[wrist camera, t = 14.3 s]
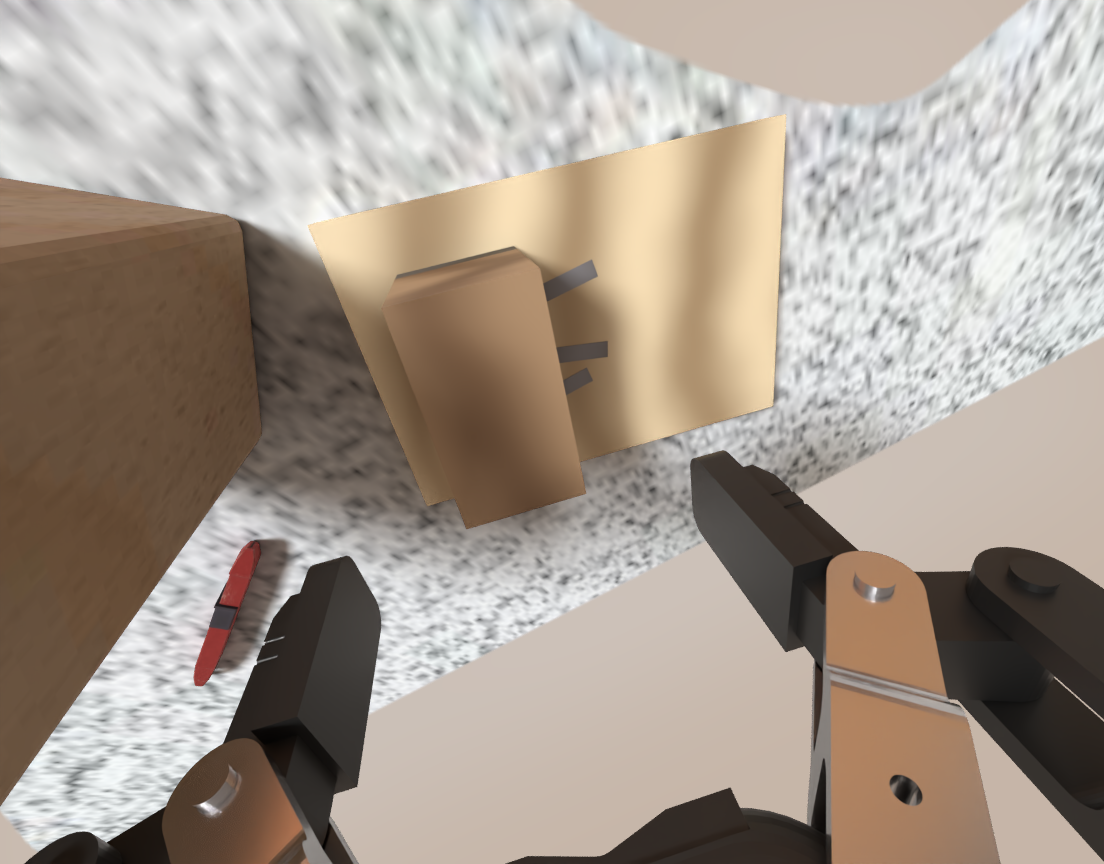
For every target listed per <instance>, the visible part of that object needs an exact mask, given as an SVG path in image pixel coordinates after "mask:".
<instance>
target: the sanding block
mask: <svg viewBox="0 0 1104 864" xmlns="http://www.w3.org/2000/svg"><path fill="white" fill-rule="evenodd" d="M381 309H382V312H383V314H384V317H385V320H386V322H387V325H388V327H389V330H390V332H391V335H392V338H393V340H394V343H395V345H396V348H397V351H398V353H399V356H400V358H401V361H402V364H403V366H404V369H405V371H406V374H407V376H408V379H409V382H410V384H411V387H412V389H413V392H414V395H415V397H416V400H417V402H418V405H419V408H420V410H421V413H422V415H423V418H424V420H425V423H426V426H427V428H428V431H429V433H430V436H431V439H432V441H433V444H434V446H435V449H436V451H437V454H438V457H439V459H440V462H441V464H442V467H443V470H444V472H445V475H446V477H447V480H448V483H449V485H450V488H451V490H452V493H453V495H454V498H455V501H456V503H457V506H458V508H459V511H460V514H461V516H462V519H463V521H464V524H465V527H466V529H469V528H472V527H476V526H479V525H483V524H486V523H489V522H493V521H496V520H499V519H503V518H506V517H509V516H513V515H516V514H520V513H523V512H526V511H530V510H533V509H536V508H540V507H543V506H546V505H550V504H553V503H556V502H560V501H563V500H567V499H570V498H573V497H577V496H580V495H583V494H586V490H585V485H584V480H583V475H582V471H581V466H580V461H579V456H578V451H577V446H576V441H575V437H574V432H573V427H572V422H571V417H570V412H569V407H568V402H567V398H566V393H565V388H564V383H563V378H562V373H561V368H560V363H559V359H558V354H557V349H556V344H555V339H554V334H553V329H552V325H551V320H550V315H549V310H548V305H547V300H546V295H545V290H544V286H543V281H542V276H541V271H540V268H539V267H538V266H537V265H536V264H534V263H533V262H532V261H531V260H530V259H529V258H527V257H526V256H525V255H524V254H523V253H521V252H520V251H519V250H518V249H517V248H516V247H514V246H512V247H507V248H503V249H499V250H495V251H491V252H487V253H483V254H479V255H475V256H471V257H467V258H463V259H459V260H455V261H451V262H447V263H443V264H439V265H435V266H431V267H427V268H423V269H419V270H414V271H410V272H406V273H402V274H398V275H397V276H396V278H395V280H394V282H393V284H392V286H391V289H390V291H389V293H388V295H387V297H386V299H385V301H384V303H383V305H382V308H381Z"/></svg>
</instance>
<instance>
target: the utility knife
mask: <svg viewBox="0 0 1104 864" xmlns="http://www.w3.org/2000/svg"><path fill="white" fill-rule="evenodd" d="M260 555H261V550H260V546H259V543H258V542H255V541H250V542H249V543H248V544H247V545H246V546H244V547H243V548H242V549H241V551H240V553H239V555H238V557H237V559H236V561H235V563H234V564H233V566H232V568H231V570H230V572H229V574H230V576H229V579H228V581H227V583H226V585H225V587H224V588H223V590H222V592H221V594H220V596H219V598H218V600H217V602H216V604H215V606H214V608H215V611H214V614H213V617H212V620H211V623H210V626H209V630H208V632H207V635H206V638H205V641H204V643H203V646H202V649H201V652H200V654H199V657H198V660H197V663H196V665H195V671H194V683H195V685H196V686H203V685H204V684H205V683H206V682H207V681H208V680H209V678H210V677H211V675H212V673H213V671H214V670H215V668H216V666H217V664H218V662H219V659H220V657H221V655H222V653H223V651H224V648H225V646H226V643H227V641H228V638H229V635H230V633H231V630H232V628H233V625H234V623H235V620H236V617H237V615H238V612H239V610H240V607H241V604H242V602H243V599H244V597H245V594H246V592H247V589H248V586H249V584H250V581H251V579H252V576H253V573H254V571H255V568H256V566H257V563H258V560H259V558H260Z"/></svg>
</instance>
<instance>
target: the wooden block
mask: <svg viewBox="0 0 1104 864" xmlns="http://www.w3.org/2000/svg"><path fill="white" fill-rule="evenodd" d="M261 434H262V429H261V418H260V408H259V398H258V388H257V377H256V367H255V357H254V347H253V336H252V326H251V316H250V306H249V295H248V285H247V275H246V265H245V254H244V244H243V234H242V230H241V228H240V225H239V223H238V221H237V220H235V219H233V218H231V217H229V216H227V215H224V214H218V213H212V212H206V211H200V210H194V209H188V208H182V207H175V206H169V205H163V204H157V203H151V202H145V201H139V200H133V199H127V198H121V197H115V196H109V195H103V194H97V193H90V192H84V191H78V190H72V189H66V188H60V187H54V186H48V185H42V184H36V183H30V182H24V181H18V180H11V179H5V178H0V806H1V805H2V803H3V802H4V800H5V799H6V798H7V796H8V795H9V793H10V792H11V790H12V789H13V788H14V786H15V785H16V783H17V782H18V781H19V779H20V778H21V776H22V775H23V773H24V772H25V771H26V769H27V768H28V766H29V765H30V764H31V762H32V761H33V759H34V758H35V756H36V755H37V754H38V752H39V751H40V749H41V748H42V747H43V745H44V744H45V742H46V741H47V739H48V738H49V737H50V735H51V734H52V732H53V731H54V730H55V728H56V727H57V725H58V724H59V722H60V721H61V720H62V718H63V717H64V715H65V714H66V713H67V711H68V710H69V708H70V707H71V705H72V704H73V703H74V701H75V700H76V698H77V697H78V696H79V694H80V693H81V691H82V690H83V688H84V687H85V686H86V684H87V683H88V681H89V680H90V679H91V677H92V676H93V674H94V673H95V671H96V670H97V669H98V667H99V666H100V664H101V663H102V662H103V660H104V659H105V657H106V656H107V654H108V653H109V652H110V650H111V649H112V647H113V646H114V645H115V643H116V642H117V640H118V639H119V637H120V636H121V635H122V633H123V632H124V630H125V629H126V628H127V626H128V625H129V623H130V622H131V620H132V619H133V618H134V616H135V615H136V613H137V612H138V611H139V609H140V608H141V606H142V605H143V603H144V602H145V601H146V599H147V598H148V596H149V595H150V594H151V592H152V591H153V589H154V588H155V586H156V585H157V584H158V582H159V581H160V579H161V578H162V577H163V575H164V574H165V572H166V571H167V569H168V568H169V567H170V565H171V564H172V562H173V561H174V560H175V558H176V557H177V555H178V554H179V552H180V551H181V550H182V548H183V547H184V545H185V544H186V543H187V541H188V540H189V538H190V537H191V535H192V534H193V533H194V531H195V530H196V528H197V527H198V526H199V524H200V523H201V521H202V520H203V518H204V517H205V516H206V514H207V513H208V511H209V510H210V509H211V507H212V506H213V504H214V503H215V501H216V500H217V499H218V497H219V496H220V494H221V493H222V492H223V490H224V489H225V487H226V486H227V484H228V483H229V482H230V480H231V479H232V477H233V476H234V475H235V473H236V472H237V470H238V469H239V467H240V466H241V465H242V463H243V462H244V460H245V459H246V458H247V456H248V455H249V453H250V452H251V450H252V449H253V448H254V446H255V445H256V443H257V442H258V441H259V439H260V437H261Z"/></svg>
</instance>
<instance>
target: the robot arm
mask: <svg viewBox="0 0 1104 864" xmlns="http://www.w3.org/2000/svg"><path fill="white" fill-rule="evenodd" d="M690 470H691V487H692V505H693V514H694V518H695V521H696V524H697V526H698V529H699V531H700V532H701V534H702V536H703V537H704V538H705V540H706V541H707V543H708V544H709V545H710V547H711V548H712V550H713V551H714V552H715V554H716V555H717V557H718V558H719V559H720V561H721V562H722V564H723V565H724V566H725V568H726V569H727V570H728V572H729V573H730V575H731V576H732V578H733V579H734V580H735V582H736V583H737V585H738V586H739V587H740V589H741V590H742V592H743V593H744V594H745V596H746V597H747V599H748V600H749V601H750V603H751V604H752V606H753V607H754V608H755V610H756V611H757V613H758V614H759V615H760V617H761V618H762V619H763V621H764V622H765V624H766V625H767V627H768V628H769V629H770V631H771V632H772V634H773V635H774V636H775V638H776V639H777V640H778V642H779V643H780V645H781V646H782V648H783V649H784V650H785V652H788V651H790V650H794V649H797V648H800V647H803V646H805V647H806V649H807V650H808V651H809V652H810V654H811V655H812V656H813V658H814V665H813V694H812V695H813V696H812V735H811V736H812V738H811V766H810V780H809V793H808V809H807V824H804V823H802V822H800V821H797V820H795V819H793V818H790V817H788V816H784V815H781V814H777V813H774V812H771V811H765V810H758V809H752V808H740V807H739V805H738V803H737V801H736V799H735V797H734V794H733V793H732V790H731V788H728V789H725V790H722V791H719V792H716V793H713V794H710V795H707V796H704V797H701V798H698V799H695V800H692V801H689V802H686V803H683V804H681V805H678V806H675V807H672V808H669V809H666V810H664V811H663V812H662V813H661V814H659V815H658V816H657V817H655V818H654V819H653V820H651V821H650V822H649V823H647V824H646V825H645V826H643V827H642V828H641V829H639V830H638V831H637V832H635V833H634V834H633V835H631V836H630V837H629V838H627V839H626V840H625V841H623V842H622V843H621V844H619V845H618V846H617V847H615V848H614V849H613V850H612V851H610V852H609V853H607V854H605V855H602V856H597V857H561V856H557V857H556V856H527V857H524V858H521V859H518V860H515V861H512V862H509V863H507V864H1001V863H1000V859H999V854H998V850H997V846H996V841H995V837H994V832H993V828H992V824H991V819H990V814H989V810H988V805H987V801H986V797H985V792H984V788H983V784H982V779H981V775H980V770H979V766H978V761H977V757H976V753H975V748H974V743H973V739H972V735H971V730H970V726H969V723H968V720H967V717H966V715H965V713H964V711H963V709H962V708H961V707H960V706H959V705H957V704H954V703H950V702H949V700H948V699H955V700H958V701H959V702H960V703H961V704H962V705H963V706H964V707H965V709H966V710H967V711H968V712H969V713H970V714H971V715H972V716H973V717H974V719H975V720H976V721H977V722H978V723H979V724H980V725H981V726H982V727H983V729H984V730H985V731H986V732H987V733H988V734H989V735H990V736H991V737H992V738H993V740H994V741H995V742H996V743H997V744H998V745H999V746H1000V747H1001V748H1002V749H1003V751H1004V752H1005V753H1006V754H1007V755H1008V756H1009V757H1010V758H1011V759H1012V761H1013V762H1014V763H1015V764H1016V765H1017V766H1018V767H1019V768H1020V769H1021V770H1022V772H1023V773H1024V774H1025V775H1026V776H1027V777H1028V778H1029V779H1030V780H1031V781H1032V783H1033V784H1034V785H1035V786H1036V787H1037V788H1038V789H1039V790H1040V791H1041V793H1042V794H1043V795H1044V796H1045V797H1046V798H1047V799H1048V800H1049V801H1050V803H1052V805H1053V806H1054V807H1055V808H1056V809H1057V810H1058V811H1059V812H1060V814H1061V815H1062V816H1063V817H1064V818H1065V819H1066V820H1067V821H1068V822H1069V823H1070V825H1071V826H1072V827H1073V828H1074V829H1075V830H1076V831H1077V832H1078V833H1079V835H1080V836H1082V838H1083V839H1084V840H1085V841H1086V842H1087V843H1088V844H1089V846H1090V847H1091V848H1092V849H1093V850H1094V851H1095V852H1096V853H1097V854H1098V856H1099V857H1100V858H1101V859H1102V860H1103V861H1104V722H1103V721H1102V720H1101V719H1100V718H1099V717H1098V716H1097V715H1096V714H1094V713H1093V712H1092V711H1091V710H1090V709H1089V708H1088V707H1086V706H1085V705H1084V704H1083V703H1082V702H1081V701H1080V700H1079V699H1077V698H1076V697H1075V696H1074V695H1073V694H1072V693H1071V692H1069V691H1068V690H1067V689H1066V688H1065V687H1064V686H1062V685H1061V684H1060V683H1059V682H1058V681H1057V680H1056V679H1055V678H1054V676H1055V677H1056V678H1058V680H1060V681H1061V682H1062V683H1063V684H1064V685H1065V686H1066V687H1068V688H1069V689H1070V690H1071V691H1072V692H1073V693H1074V694H1076V695H1077V696H1078V697H1079V698H1080V699H1081V700H1082V701H1084V702H1085V703H1086V704H1087V705H1088V706H1089V707H1091V708H1092V709H1093V710H1094V711H1095V712H1096V713H1097V714H1098V715H1100V716H1101V717H1102V718H1103V719H1104V589H1103V588H1102V587H1100V586H1099V585H1097V584H1096V583H1094V582H1093V581H1091V580H1090V579H1088V578H1087V577H1085V576H1084V575H1082V574H1080V573H1079V572H1078V571H1076V570H1075V569H1073V568H1071V567H1070V566H1068V565H1066V564H1065V563H1063V562H1061V561H1059V560H1057V559H1055V558H1052V557H1049V556H1047V555H1044V554H1041V553H1038V552H1035V551H1030V550H1026V549H1021V548H1012V547H998V548H991V549H988V550H985V551H983V552H981V553H980V554H978V556H977V557H976V558H975V560H974V563H973V566H972V569H971V571H963V572H961V571H958V572H913V571H912V570H911V569H910V568H909V567H907V566H906V565H904V564H903V563H901V562H899V561H897V560H895V559H893V558H891V557H888V556H885V555H882V554H879V553H874V552H868V551H858V550H857V549H856V548H855V547H854V546H853V545H852V544H851V543H849V541H847V540H846V539H845V538H844V537H843V536H842V535H841V534H840V533H839V532H837V531H836V530H835V529H834V528H833V527H832V526H831V525H830V524H829V523H827V522H826V521H825V520H824V519H823V518H822V517H821V516H820V515H818V513H816V512H815V511H814V510H813V509H812V508H811V507H810V506H809V505H807V504H804V502H803V500H802V499H801V498H800V497H798V495H796V494H795V493H794V492H791V491H790V488H789V487H788V486H786V485H785V484H784V483H783V482H782V481H781V480H780V479H779V478H778V477H777V476H775V475H774V474H772V473H770V472H768V471H765V470H763V469H761V468H759V467H756V466H754V465H750V466H746V467H742V466H741V465H740V464H739V463H738V462H737V461H736V460H735V459H734V458H733V457H732V456H731V455H730V454H729V453H728V452H726V451H719V452H715V453H712V454H708V455H704V456H701V457H697V458H694V459H692V460H691V464H690ZM380 632H381V616H380V610H379V607H378V604H377V601H376V599H375V598H374V596H373V594H372V592H371V591H370V589H369V587H368V585H367V584H366V582H365V580H364V578H363V577H362V575H361V573H360V571H359V570H358V568H357V566H356V564H355V563H354V561H353V560H352V558H350V557H349V556H344V557H340V558H337V559H333V560H330V561H326V562H323V563H319V564H316V565H313V566H311V567H310V568H309V570H308V572H307V575H306V578H305V581H304V583H303V586H302V589H301V592H300V593H299V594H296V595H292V596H290V598H289V599H288V600H287V602H286V603H285V604H284V605H283V607H282V608H281V609H280V610H279V612H278V613H277V614H276V616H275V617H274V618H273V620H272V623H271V625H270V628H269V630H268V633H267V635H266V638H265V640H264V642H265V645H264V646H262V648H261V650H260V653H259V655H258V658H257V660H256V661H257V665H255V666H254V668H253V670H252V673H251V675H250V678H249V680H248V683H247V685H246V688H245V690H244V693H243V695H242V698H241V700H240V703H239V705H238V708H237V710H236V713H235V715H234V718H233V720H232V723H231V725H230V728H229V730H228V733H227V735H226V738H225V740H224V743H223V744H222V745H220V746H218V747H217V748H215V749H214V750H212V751H211V752H209V753H208V754H207V755H205V756H204V757H203V758H202V759H200V760H199V761H198V762H197V763H196V764H195V765H194V766H193V767H192V768H191V769H190V770H189V771H188V772H187V773H186V775H185V776H184V777H183V778H182V780H181V781H180V782H179V784H178V785H177V787H176V788H175V790H174V791H173V793H172V795H171V797H170V799H169V801H168V803H167V806H166V807H164V808H162V809H161V810H159V811H158V812H156V813H154V814H153V815H151V816H149V817H148V818H146V819H144V820H143V821H141V822H140V823H138V824H136V825H135V826H133V827H131V828H130V829H128V830H126V831H125V832H123V833H122V834H120V835H118V836H117V837H115V838H113V839H112V840H110V841H108V842H107V843H106V842H105V841H103V840H101V839H100V838H98V837H97V836H95V835H93V834H92V833H90V832H76V833H72V834H69V835H67V836H64V837H62V838H60V839H58V840H56V841H54V842H53V843H51V844H49V845H48V846H46V847H45V848H43V849H42V850H41V851H39V852H38V853H37V854H35V855H34V856H33V857H32V858H30V859H29V860H28V861H27V862H26V863H25V864H359V863H358V862H357V860H356V858H355V856H354V855H353V853H352V851H351V849H350V848H349V846H348V844H347V842H346V841H345V839H344V837H343V836H342V834H341V832H340V831H339V829H338V827H337V825H336V824H335V822H334V821H333V819H332V818H331V817H330V812H331V807H332V802H333V795H334V794H336V793H339V792H343V791H345V790H349V789H352V788H355V787H357V784H358V778H359V771H360V764H361V758H362V751H363V745H364V738H365V731H366V725H367V718H368V712H369V705H370V698H371V692H372V685H373V678H374V672H375V665H376V658H377V652H378V645H379V639H380Z"/></svg>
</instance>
